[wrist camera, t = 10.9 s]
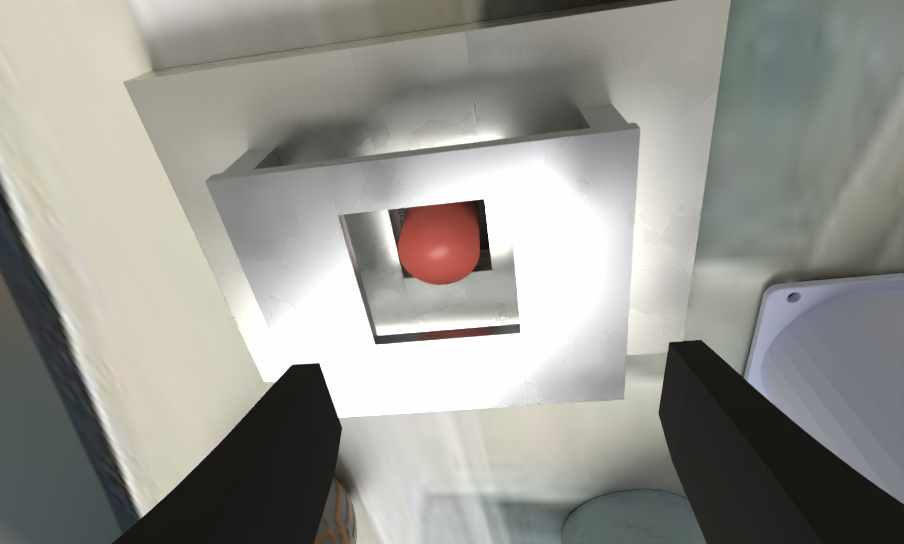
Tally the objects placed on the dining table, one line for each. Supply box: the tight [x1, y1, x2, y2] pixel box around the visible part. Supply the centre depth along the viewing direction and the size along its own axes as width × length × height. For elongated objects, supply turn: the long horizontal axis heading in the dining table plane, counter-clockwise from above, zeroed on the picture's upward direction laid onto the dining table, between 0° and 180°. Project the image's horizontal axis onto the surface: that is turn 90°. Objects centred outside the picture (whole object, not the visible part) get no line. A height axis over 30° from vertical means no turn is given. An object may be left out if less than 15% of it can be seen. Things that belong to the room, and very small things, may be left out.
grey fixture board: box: [123, 0, 731, 418], centre depth 18 cm, size 18×13×4 cm
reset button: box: [398, 200, 480, 285], centre depth 18 cm, size 3×3×2 cm
